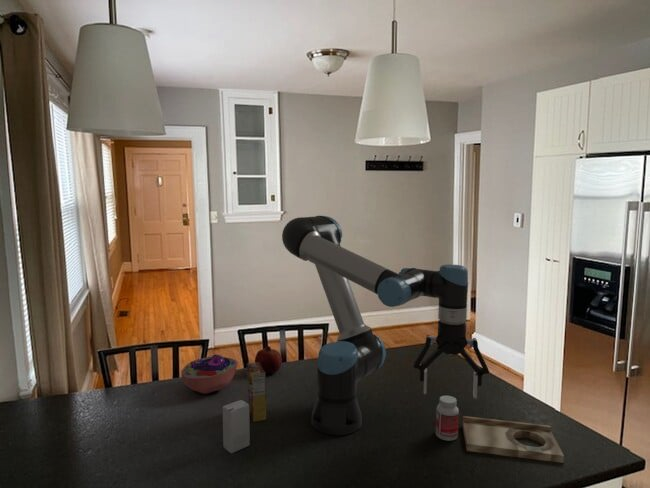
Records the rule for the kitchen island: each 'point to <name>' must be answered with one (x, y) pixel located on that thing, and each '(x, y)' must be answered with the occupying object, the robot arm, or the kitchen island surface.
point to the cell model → (209, 373)
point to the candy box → (256, 391)
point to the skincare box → (236, 426)
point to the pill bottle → (447, 418)
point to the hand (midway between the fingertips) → (449, 394)
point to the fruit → (269, 359)
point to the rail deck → (510, 439)
